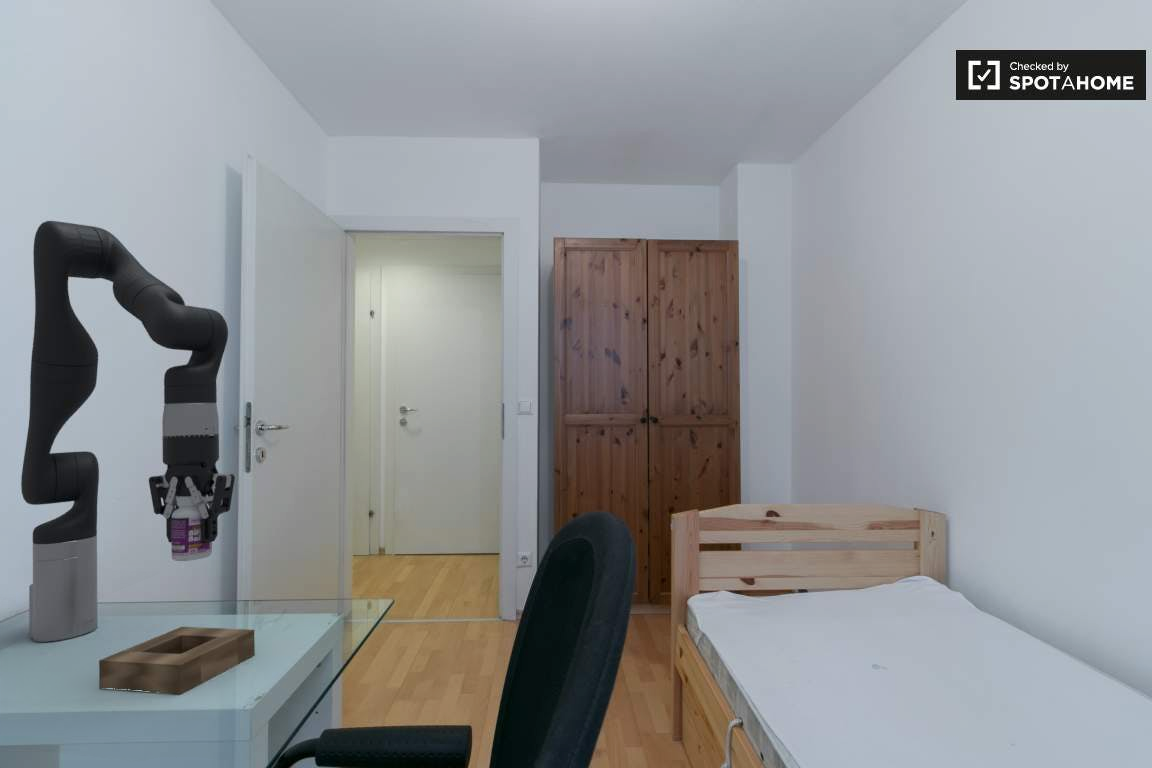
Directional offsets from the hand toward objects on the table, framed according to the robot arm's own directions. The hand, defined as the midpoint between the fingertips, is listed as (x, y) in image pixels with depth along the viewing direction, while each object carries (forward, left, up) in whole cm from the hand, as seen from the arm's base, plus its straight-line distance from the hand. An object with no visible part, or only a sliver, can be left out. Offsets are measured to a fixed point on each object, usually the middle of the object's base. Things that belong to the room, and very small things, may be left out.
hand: (192, 541), depth 96 cm
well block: (-1, -2, -19) cm, 19 cm away
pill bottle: (0, 0, -3) cm, 3 cm away
